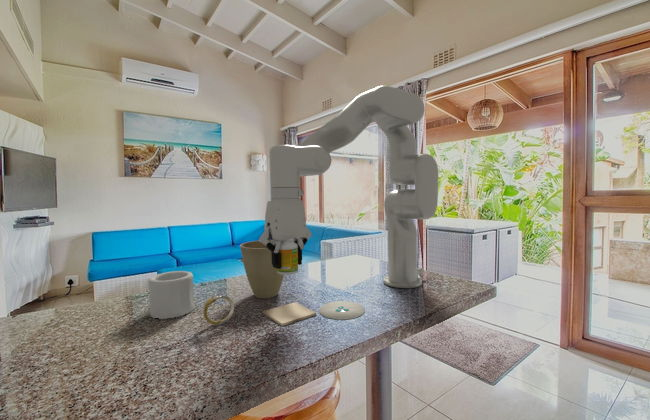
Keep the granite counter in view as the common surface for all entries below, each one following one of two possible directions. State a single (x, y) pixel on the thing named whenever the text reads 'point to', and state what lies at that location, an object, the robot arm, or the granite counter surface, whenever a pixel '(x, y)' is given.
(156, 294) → the mug
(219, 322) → the ring
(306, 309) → the wooden mat
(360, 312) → the coaster
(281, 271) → the supplement bottle
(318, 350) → the granite counter surface
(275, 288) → the plant pot
